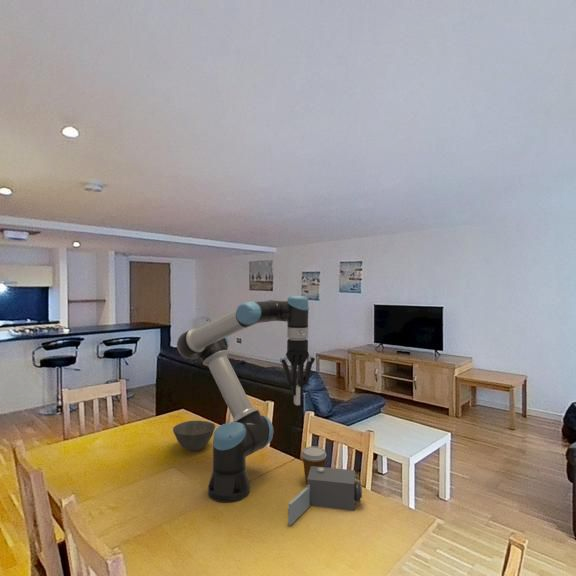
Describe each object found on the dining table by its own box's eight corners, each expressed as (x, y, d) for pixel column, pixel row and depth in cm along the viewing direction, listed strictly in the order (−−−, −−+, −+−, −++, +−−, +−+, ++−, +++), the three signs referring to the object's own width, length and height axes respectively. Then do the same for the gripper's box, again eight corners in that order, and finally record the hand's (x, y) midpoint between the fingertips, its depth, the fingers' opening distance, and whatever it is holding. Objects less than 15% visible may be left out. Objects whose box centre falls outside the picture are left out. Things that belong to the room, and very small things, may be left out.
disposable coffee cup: (324, 489, 147) (325, 457, 147) (299, 487, 149) (299, 455, 148) (327, 477, 156) (327, 447, 156) (303, 474, 158) (303, 444, 158)
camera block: (306, 505, 136) (307, 476, 136) (310, 490, 146) (311, 463, 146) (361, 511, 133) (362, 481, 133) (361, 496, 143) (362, 468, 143)
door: (306, 504, 136) (306, 483, 136) (310, 506, 135) (310, 485, 135) (286, 524, 125) (286, 501, 125) (291, 525, 124) (291, 502, 124)
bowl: (223, 446, 185) (223, 424, 185) (193, 461, 169) (193, 438, 169) (194, 437, 195) (194, 417, 195) (163, 451, 179) (164, 428, 179)
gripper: (283, 341, 138) (283, 408, 138) (318, 339, 142) (317, 405, 142) (277, 338, 145) (276, 402, 145) (310, 336, 149) (309, 399, 150)
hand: (296, 404), depth 144 cm, fingers closed
